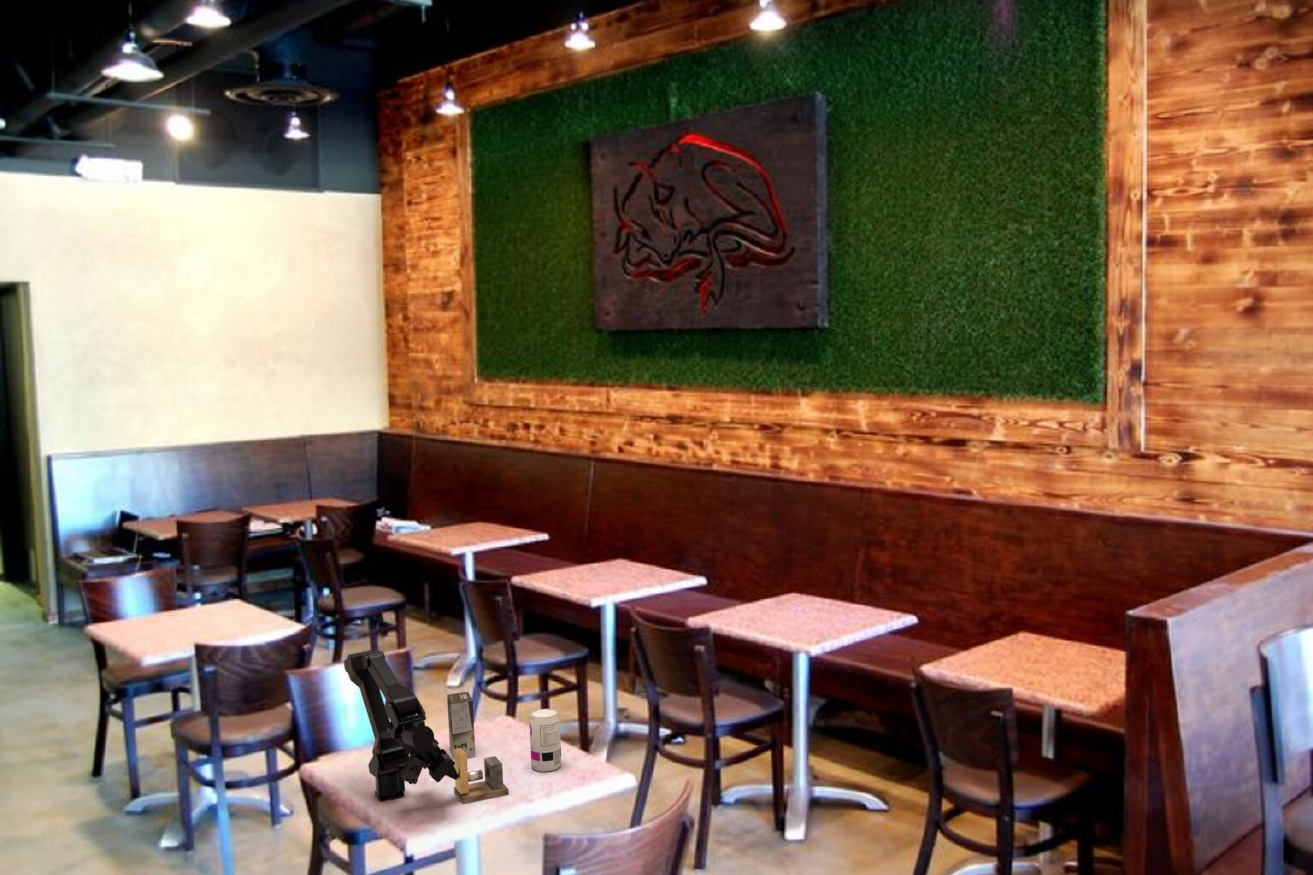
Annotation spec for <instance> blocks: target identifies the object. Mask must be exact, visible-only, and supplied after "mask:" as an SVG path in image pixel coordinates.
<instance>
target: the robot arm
mask: <svg viewBox="0 0 1313 875" xmlns="http://www.w3.org/2000/svg"><path fill="white" fill-rule="evenodd" d="M343 666H344V667H343V668H344V670H345V672H346V673H347V676H348V678H349V680H350V682H352V683H353V684H354V685H355V686H356V687H357V688H359V691H360V694H361V697H362V700H363V704H364V709H365V711H366V713H367V718H368V721H369V724H370V726H371V730H372V734H373V737H374V743H373V746H372V750H371V752H372V756H371V759H370V761H369V763H368V764H367V766H368V771H369V774H371V775H372V776H373V777H374V778H375V790H374V794H375V795H376V798H377V799H378V801H379V802H382V801H383V802H384V801H387V800H393V799H397V798H403V797H405V795H406V794H405V791H406V785H405V783H406V782H407V783H408V784H409V785H412V784H414V785H416V784H417V783H418V782H419V777H420V775H421V773H422V772H423V771H422V770H423V769H424V770H426V769H427V770H428V774H429V776H430V778H431V779H433V780H434V781H435V782H436V783H439V782H441V781H442V780H443V778H445V777H448V778H450V779H453V780H457V779H458V778H459V776H458V774H457V772H456V769H455V766H454V764H455V762H454V759H453V758H452V756H450V754H448V753H447V751H446V750H445V749H444V748H441V747H440V746H439V744H440V743H439V741H438V740H437V739H436V738H435V733H434V731H433V729H432V728H431V727H430V726H427V725H426V722H425V721H427V717H426V711H425V709H424V707H423V706H422V703H421V702H420V700H419V698H418V696H417V695H416V694H415V693H414V692H413V690H411V689H410V688H409V687H406V686H404V685H402V684H401V682H400V681H399V679H398V678H397V675H396V674H395V673H394V671H393V669H392V668H391V667H390V665H389V663H388V662H387V660H386V656H385V652H384V651H383V650H382V651H380V650H375V651H373V650H372V649H370V650H369V649H368V650H363V651H359V652H355V653H349V654H348V655H347V658H346V659H344V662H343ZM383 697H384V698H383ZM384 699H385V701H384Z"/></svg>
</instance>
